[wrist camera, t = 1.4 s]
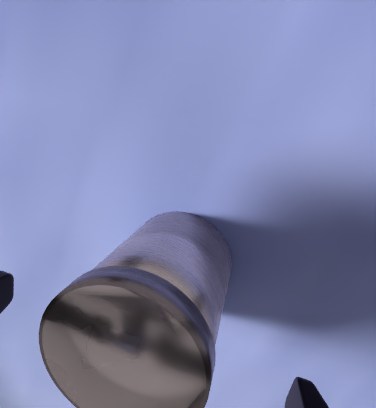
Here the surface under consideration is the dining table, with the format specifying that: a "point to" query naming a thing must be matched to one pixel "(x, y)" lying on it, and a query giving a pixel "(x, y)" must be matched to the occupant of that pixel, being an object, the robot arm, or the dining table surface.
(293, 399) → the robot arm
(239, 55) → the dining table surface
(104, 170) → the dining table surface
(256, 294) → the dining table surface
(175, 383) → the lens
